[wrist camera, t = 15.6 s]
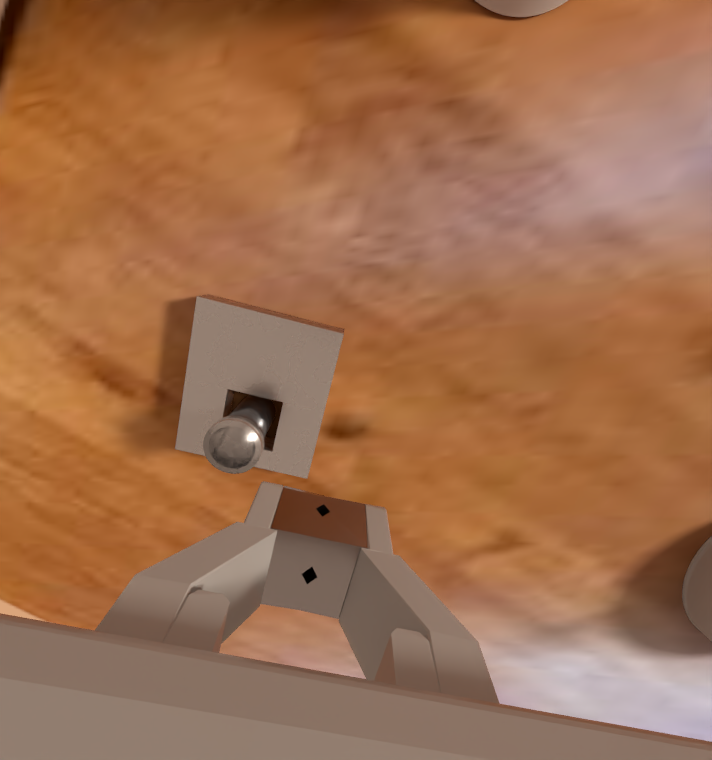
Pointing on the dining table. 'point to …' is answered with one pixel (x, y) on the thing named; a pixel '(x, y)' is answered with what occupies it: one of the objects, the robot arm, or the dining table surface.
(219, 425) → the flashlight
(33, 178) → the dining table surface
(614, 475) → the dining table surface
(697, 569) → the grey dome pendant lamp
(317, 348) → the jig
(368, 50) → the dining table surface
